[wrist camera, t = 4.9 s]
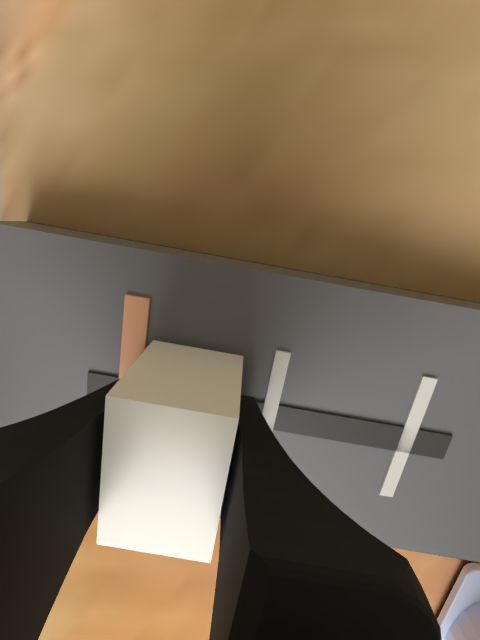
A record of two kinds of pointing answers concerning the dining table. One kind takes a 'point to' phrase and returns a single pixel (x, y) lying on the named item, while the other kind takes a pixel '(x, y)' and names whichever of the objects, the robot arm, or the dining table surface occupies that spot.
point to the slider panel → (267, 366)
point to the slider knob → (169, 450)
